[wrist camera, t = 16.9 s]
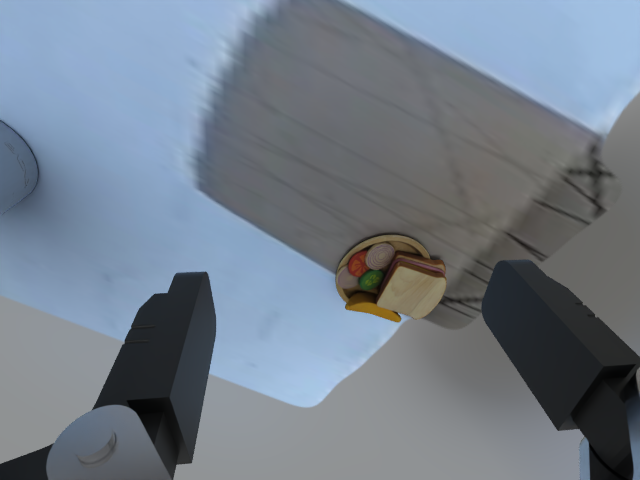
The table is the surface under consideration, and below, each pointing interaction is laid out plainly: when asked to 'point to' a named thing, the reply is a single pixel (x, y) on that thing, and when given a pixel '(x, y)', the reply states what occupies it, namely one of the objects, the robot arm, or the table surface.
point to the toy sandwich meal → (391, 278)
